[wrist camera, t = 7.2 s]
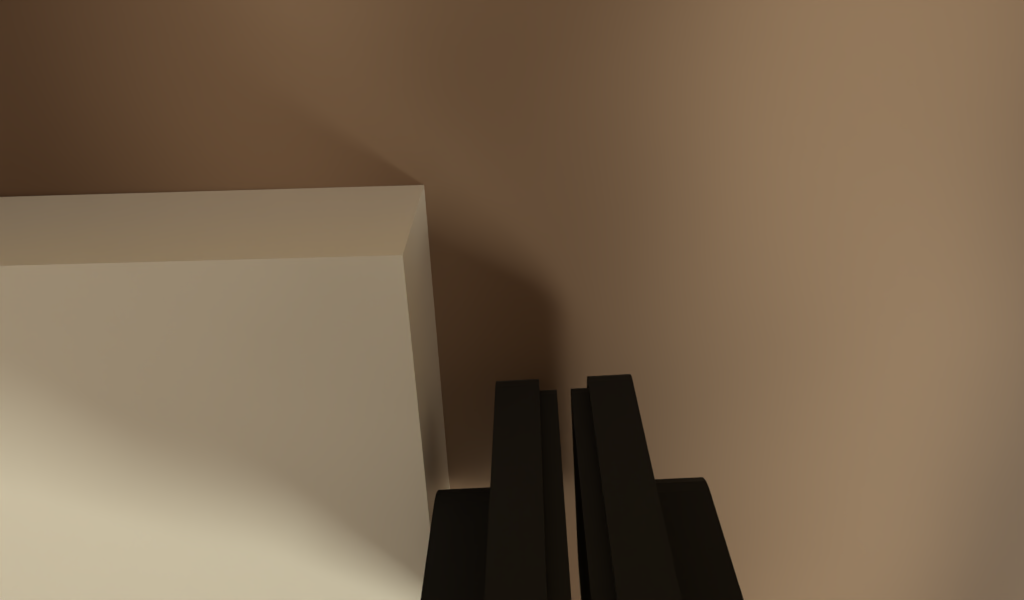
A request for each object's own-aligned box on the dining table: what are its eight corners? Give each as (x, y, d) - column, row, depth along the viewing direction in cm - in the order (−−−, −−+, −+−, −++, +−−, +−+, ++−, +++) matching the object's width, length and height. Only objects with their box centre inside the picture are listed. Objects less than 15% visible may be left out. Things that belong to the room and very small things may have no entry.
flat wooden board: (1211, -197, 10) (1453, -224, 8) (997, 606, 17) (1088, 745, 14) (-26, -87, 11) (-201, -76, 8) (223, 642, 17) (169, 781, 15)
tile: (424, 185, 9) (402, 255, 8) (460, 615, 13) (451, 735, 11) (-169, 202, 10) (-326, 274, 8) (13, 623, 13) (-67, 743, 11)
